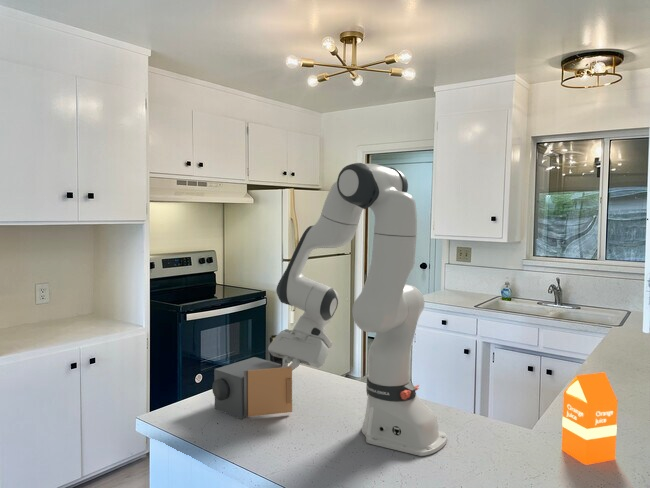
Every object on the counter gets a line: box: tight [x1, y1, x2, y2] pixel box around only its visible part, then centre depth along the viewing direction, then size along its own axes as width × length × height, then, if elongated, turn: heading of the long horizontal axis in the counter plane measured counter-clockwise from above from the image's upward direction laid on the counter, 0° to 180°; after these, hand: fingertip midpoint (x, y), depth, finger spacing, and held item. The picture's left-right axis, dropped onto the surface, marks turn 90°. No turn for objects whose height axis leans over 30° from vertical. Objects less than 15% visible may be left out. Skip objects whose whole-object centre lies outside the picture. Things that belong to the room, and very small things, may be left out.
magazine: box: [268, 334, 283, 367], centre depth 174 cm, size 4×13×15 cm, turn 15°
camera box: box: [211, 356, 281, 420], centre depth 149 cm, size 12×18×12 cm
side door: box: [244, 367, 293, 418], centre depth 141 cm, size 2×14×13 cm, turn 105°
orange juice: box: [561, 371, 618, 466], centre depth 120 cm, size 8×9×20 cm
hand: (284, 372), depth 146 cm, fingers closed
